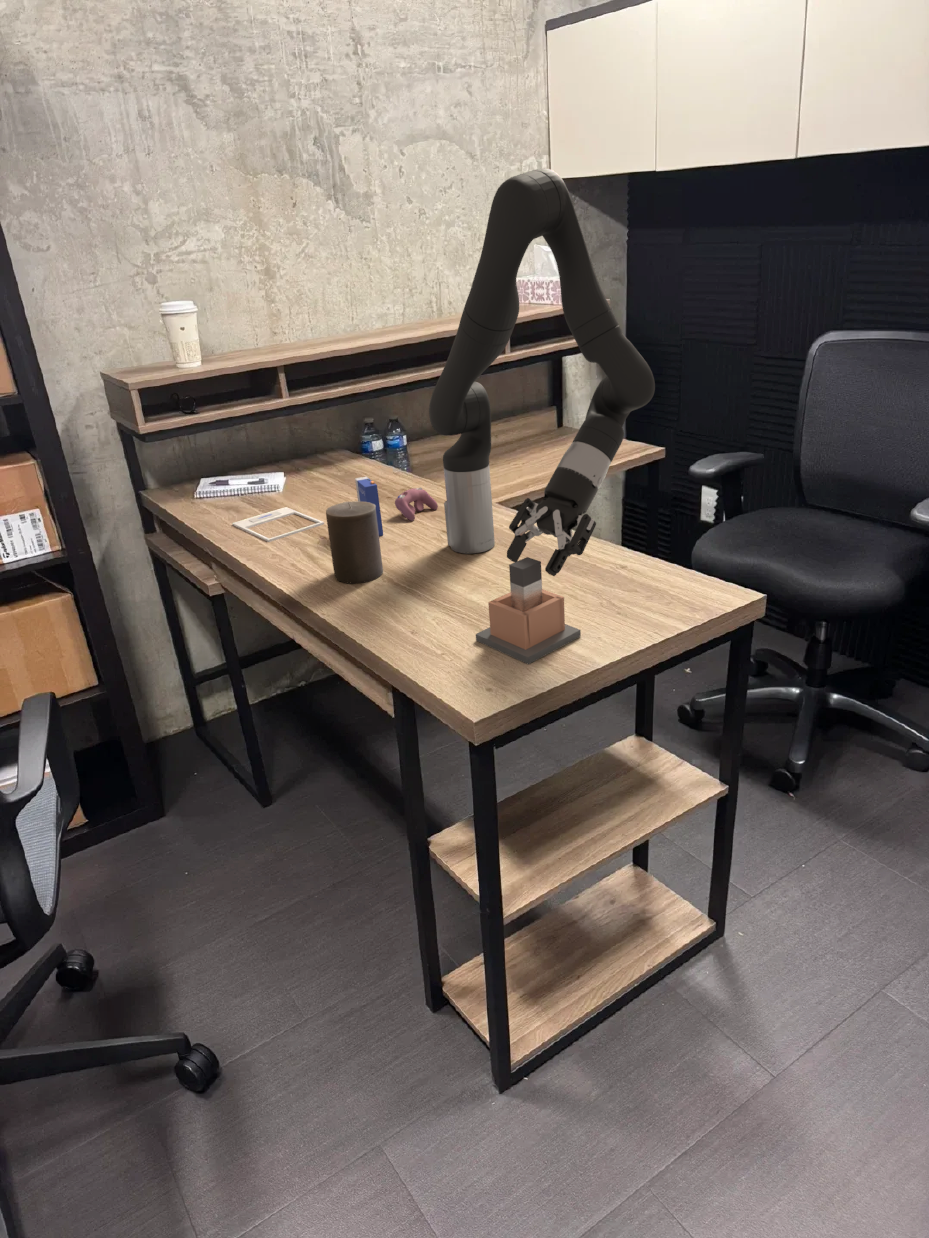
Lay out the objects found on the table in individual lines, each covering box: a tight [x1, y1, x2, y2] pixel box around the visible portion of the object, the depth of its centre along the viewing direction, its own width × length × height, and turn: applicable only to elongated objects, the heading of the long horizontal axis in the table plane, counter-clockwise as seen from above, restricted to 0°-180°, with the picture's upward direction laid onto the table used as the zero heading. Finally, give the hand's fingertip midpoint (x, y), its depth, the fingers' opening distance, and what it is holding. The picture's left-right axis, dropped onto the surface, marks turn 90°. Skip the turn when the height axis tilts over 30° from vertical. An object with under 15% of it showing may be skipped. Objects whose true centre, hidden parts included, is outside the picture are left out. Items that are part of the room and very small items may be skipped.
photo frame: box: [231, 506, 325, 543], centre depth 197 cm, size 15×1×18 cm
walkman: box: [354, 476, 384, 537], centre depth 185 cm, size 8×3×12 cm, turn 23°
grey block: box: [508, 556, 543, 612], centre depth 133 cm, size 3×4×12 cm
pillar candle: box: [325, 500, 384, 585], centre depth 162 cm, size 10×10×15 cm
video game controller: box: [394, 487, 439, 522], centre depth 195 cm, size 10×5×7 cm, turn 142°
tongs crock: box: [475, 588, 582, 665], centre depth 134 cm, size 12×12×7 cm
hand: (529, 566), depth 131 cm, fingers open, 8 cm apart
